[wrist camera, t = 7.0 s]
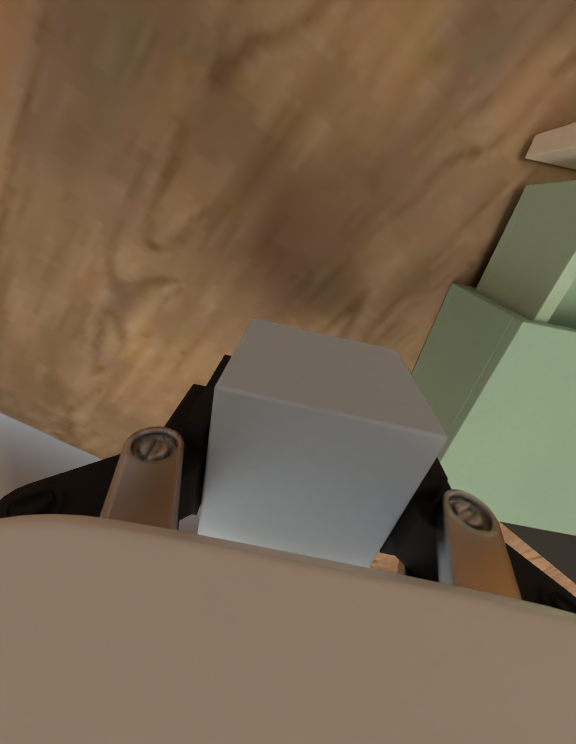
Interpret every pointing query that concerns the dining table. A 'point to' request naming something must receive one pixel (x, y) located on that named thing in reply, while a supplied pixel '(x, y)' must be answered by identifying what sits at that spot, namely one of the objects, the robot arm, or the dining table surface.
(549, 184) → the drawer
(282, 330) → the carton
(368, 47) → the dining table surface
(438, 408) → the cabinet
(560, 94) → the dining table surface
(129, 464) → the robot arm
